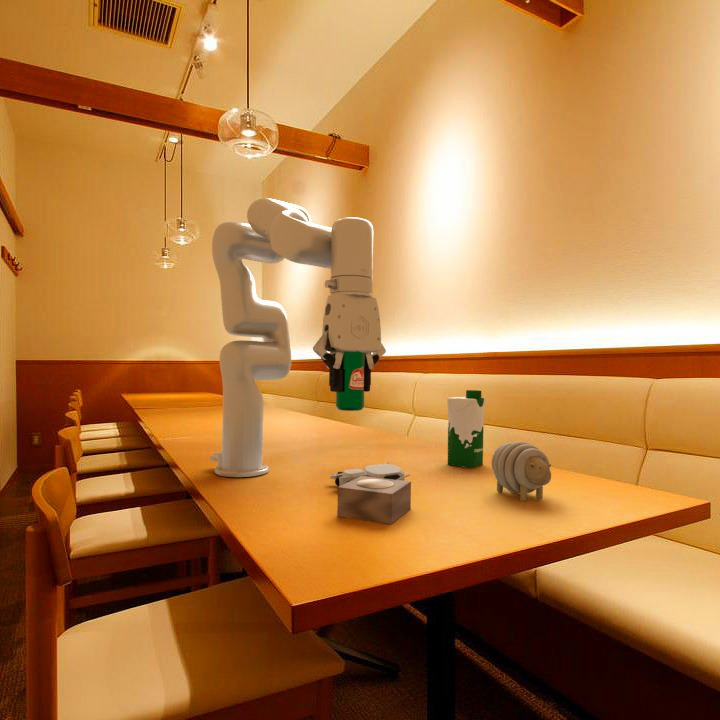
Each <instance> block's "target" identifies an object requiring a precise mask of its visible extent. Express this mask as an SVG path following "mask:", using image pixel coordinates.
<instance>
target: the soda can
mask: <svg viewBox="0 0 720 720" xmlns="http://www.w3.org/2000/svg"><path fill="white" fill-rule="evenodd" d="M340 369H342V370H343V391H342V392H335V407H336V409H337V410H338V411H342V412H343V411H344V412H345V411H347V412H349V411H350V412H356V411H357V412H358V411H362V410H363V409H364V407H365V391H364V383H365V352H360V351H357V352H344V354H343V358H342V361H341V365H340Z"/></svg>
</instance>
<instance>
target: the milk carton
mask: <svg viewBox="0 0 720 720" xmlns="http://www.w3.org/2000/svg"><path fill="white" fill-rule="evenodd" d="M446 399H447V465H449V466H453V467H461V468H469V469H473V468H474V469H475V468H476V467H479V466H481V465H484V427H485V426H484V421H485V420H484V418H485V417H484V416H485V407H486V406H485V405H486V398H485V397H482V390H473V389H471V390H470V389H466V390H465V396H456V397H447V398H446Z"/></svg>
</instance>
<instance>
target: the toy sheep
mask: <svg viewBox="0 0 720 720" xmlns="http://www.w3.org/2000/svg"><path fill="white" fill-rule="evenodd" d="M548 458H549V457H548V456H547V455H546V453H544V452H543V451H542V450H541V449H539V448H538V447H537V446H536V445H533V444H530V443H528V442H525V441H511V442H507V443H503V444H501V445H499V446H498V447H497V448H496V449H495V450H494V452H493V455H492V458H491V468H492V471H493V474H494V476H495V479H496V491H497V493H502V492H503V491H504V489H506V490H507V491H509V492H510V493H513V494H517V495H518V494H519V500H520V501H521V502H522V503H525V502H527V500H528V494H530V493H533V492H534V491H535V498H536V500H539V501H542V500H543V499H544V493H543V492H544V486H546V485H548V484H550V482H551V479H552V473H551V467H552V463H550V460H549V459H548Z"/></svg>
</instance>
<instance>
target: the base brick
mask: <svg viewBox="0 0 720 720" xmlns="http://www.w3.org/2000/svg"><path fill="white" fill-rule="evenodd" d="M411 495H412V481H410V480H409V481H408V480H405V481H402V480H393V479H384V478H375V477H366V476H360V477H358V478H356V479H354V480H352V481H349V482H347V483H345V484H343V485H341V486H337V514H336V515H337V517H343V518H349V519H353V520H361V521H369V522H376V523H381V524H388V525H393V524H394V523H395V522H397V520H399V519H401V517H402V516H404V515H405V514H406V513H408V512H409V511H410V510H411V504H412V503H411V502H412V501H411V500H412V499H411V498H412V496H411Z"/></svg>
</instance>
